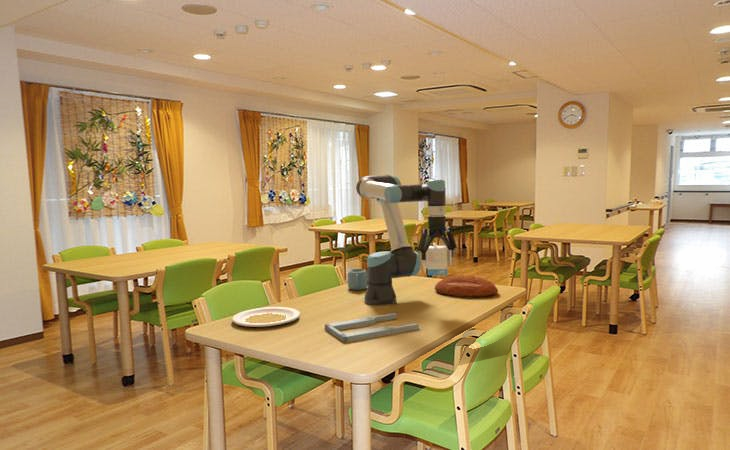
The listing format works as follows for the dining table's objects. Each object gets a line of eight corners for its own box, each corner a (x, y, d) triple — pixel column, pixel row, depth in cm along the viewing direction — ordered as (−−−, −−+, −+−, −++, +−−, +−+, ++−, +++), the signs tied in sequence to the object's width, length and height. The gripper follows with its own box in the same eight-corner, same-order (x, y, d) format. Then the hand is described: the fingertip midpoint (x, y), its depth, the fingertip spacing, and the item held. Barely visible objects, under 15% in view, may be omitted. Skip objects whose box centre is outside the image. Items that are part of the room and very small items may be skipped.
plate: (275, 308, 234) (275, 303, 234) (313, 319, 214) (313, 314, 214) (220, 321, 214) (220, 316, 214) (256, 334, 194) (256, 328, 194)
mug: (368, 292, 261) (367, 273, 260) (346, 292, 261) (346, 273, 260) (368, 286, 276) (367, 268, 275) (348, 286, 276) (347, 268, 275)
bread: (494, 300, 237) (494, 282, 236) (428, 296, 250) (428, 278, 249) (501, 290, 258) (501, 273, 257) (440, 286, 270) (440, 270, 270)
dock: (324, 329, 198) (324, 324, 198) (394, 317, 212) (394, 313, 212) (344, 342, 181) (344, 337, 181) (419, 329, 195) (419, 324, 194)
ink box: (447, 275, 213) (446, 244, 212) (427, 275, 214) (426, 244, 213) (447, 271, 221) (447, 241, 220) (428, 271, 223) (428, 241, 222)
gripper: (417, 217, 207) (418, 270, 209) (464, 214, 217) (465, 264, 219) (408, 216, 214) (409, 267, 216) (454, 213, 224) (454, 262, 226)
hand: (437, 266), depth 218 cm, fingers closed on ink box, 11 cm apart
